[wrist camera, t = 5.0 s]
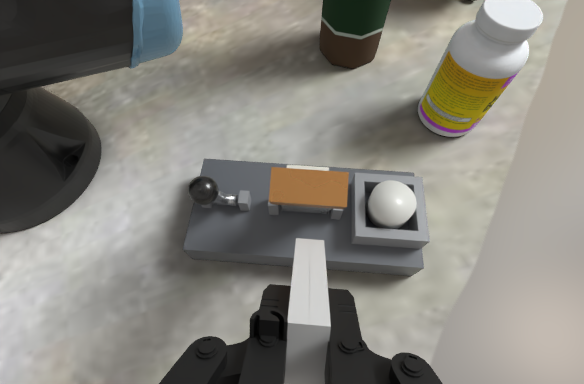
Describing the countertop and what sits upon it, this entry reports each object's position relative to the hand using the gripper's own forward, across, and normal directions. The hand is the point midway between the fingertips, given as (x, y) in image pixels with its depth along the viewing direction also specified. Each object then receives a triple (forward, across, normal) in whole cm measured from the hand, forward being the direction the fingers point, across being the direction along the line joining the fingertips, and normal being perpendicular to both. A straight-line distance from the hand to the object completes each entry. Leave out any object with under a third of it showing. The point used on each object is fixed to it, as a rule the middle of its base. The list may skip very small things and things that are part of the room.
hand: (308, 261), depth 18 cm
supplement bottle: (+24, +15, +6) cm, 29 cm away
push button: (+11, +7, -1) cm, 13 cm away
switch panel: (+14, 0, -3) cm, 14 cm away
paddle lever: (+11, 0, -1) cm, 11 cm away
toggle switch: (+11, -7, -1) cm, 13 cm away
